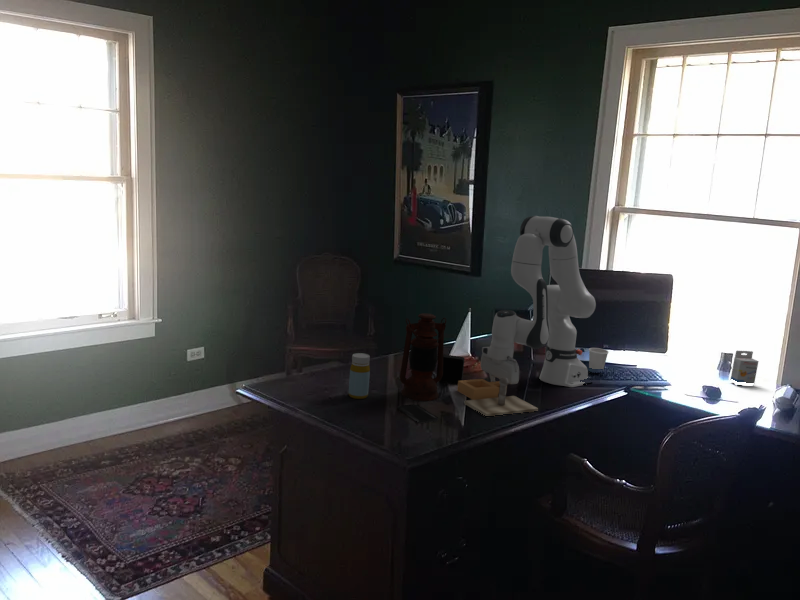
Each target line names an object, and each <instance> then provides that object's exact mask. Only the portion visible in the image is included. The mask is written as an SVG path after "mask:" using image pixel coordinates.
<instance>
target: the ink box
mask: <svg viewBox="0 0 800 600" xmlns="http://www.w3.org/2000/svg"><path fill="white" fill-rule="evenodd" d="M753 354H754V351H752V350H751V351H750V350H736V351H735V355H734V358H733V365H732V368H731V369H732V370H731V376H730V380H731V379H733V380H735V381H737V382H746V383H754V384H755V382H756V381H755V380H756V377H757V372H758V367H759V360H756V359H754V358H753Z"/></svg>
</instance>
